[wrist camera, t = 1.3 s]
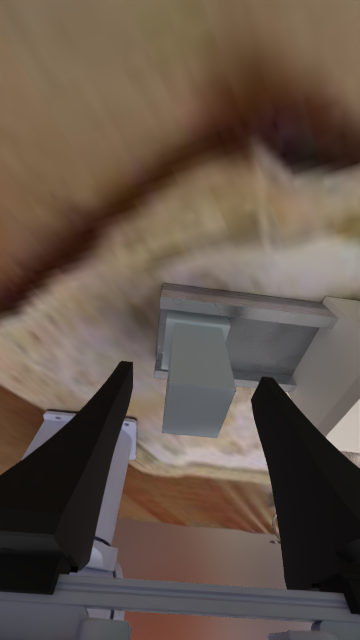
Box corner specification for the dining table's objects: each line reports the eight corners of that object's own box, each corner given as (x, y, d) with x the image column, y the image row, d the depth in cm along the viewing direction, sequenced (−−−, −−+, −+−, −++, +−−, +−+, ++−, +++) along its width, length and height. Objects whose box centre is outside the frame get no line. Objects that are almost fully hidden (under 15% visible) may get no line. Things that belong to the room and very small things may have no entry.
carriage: (162, 357, 17) (152, 434, 12) (167, 308, 14) (157, 378, 9) (213, 363, 17) (225, 440, 12) (227, 315, 15) (248, 387, 10)
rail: (156, 359, 18) (153, 377, 17) (163, 283, 15) (160, 296, 13) (283, 373, 19) (292, 392, 17) (321, 302, 15) (338, 318, 13)
